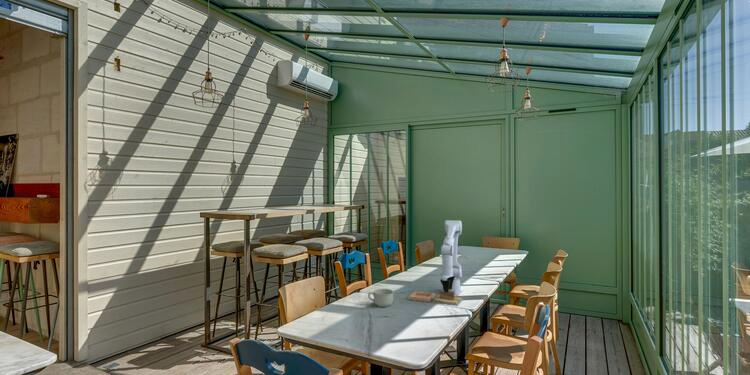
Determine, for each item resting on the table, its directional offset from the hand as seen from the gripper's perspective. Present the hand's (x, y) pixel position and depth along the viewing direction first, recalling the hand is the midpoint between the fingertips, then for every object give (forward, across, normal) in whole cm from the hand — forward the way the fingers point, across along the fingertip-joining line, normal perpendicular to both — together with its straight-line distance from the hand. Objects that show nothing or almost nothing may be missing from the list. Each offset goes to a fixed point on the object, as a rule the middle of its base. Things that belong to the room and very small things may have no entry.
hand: (448, 290), depth 221 cm
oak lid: (+5, 0, 0) cm, 5 cm away
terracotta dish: (+6, 0, -16) cm, 17 cm away
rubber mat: (+6, 0, 0) cm, 6 cm away
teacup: (+6, +22, -32) cm, 39 cm away
